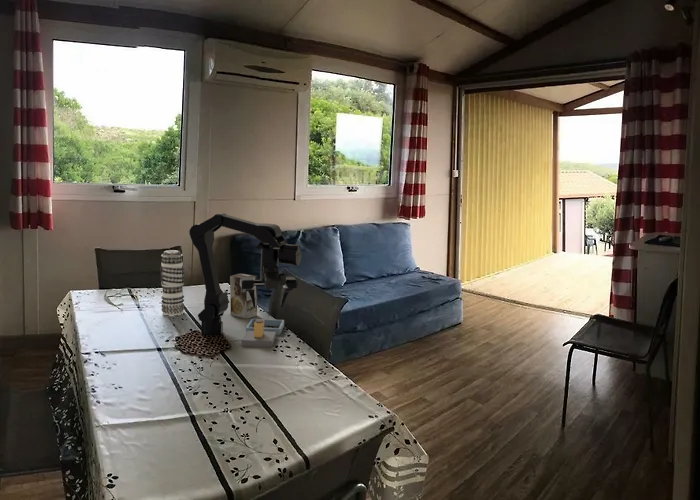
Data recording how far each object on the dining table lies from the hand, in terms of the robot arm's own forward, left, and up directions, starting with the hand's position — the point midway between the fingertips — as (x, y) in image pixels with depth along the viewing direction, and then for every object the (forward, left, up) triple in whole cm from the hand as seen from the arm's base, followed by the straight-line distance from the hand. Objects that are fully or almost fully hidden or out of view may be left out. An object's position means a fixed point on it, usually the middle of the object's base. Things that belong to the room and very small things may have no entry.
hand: (267, 307), depth 183 cm
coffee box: (-15, +31, -12) cm, 36 cm away
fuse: (-3, -2, -11) cm, 12 cm away
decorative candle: (-43, +30, -12) cm, 53 cm away
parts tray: (-3, +11, -12) cm, 16 cm away
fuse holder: (-3, -2, -12) cm, 13 cm away
